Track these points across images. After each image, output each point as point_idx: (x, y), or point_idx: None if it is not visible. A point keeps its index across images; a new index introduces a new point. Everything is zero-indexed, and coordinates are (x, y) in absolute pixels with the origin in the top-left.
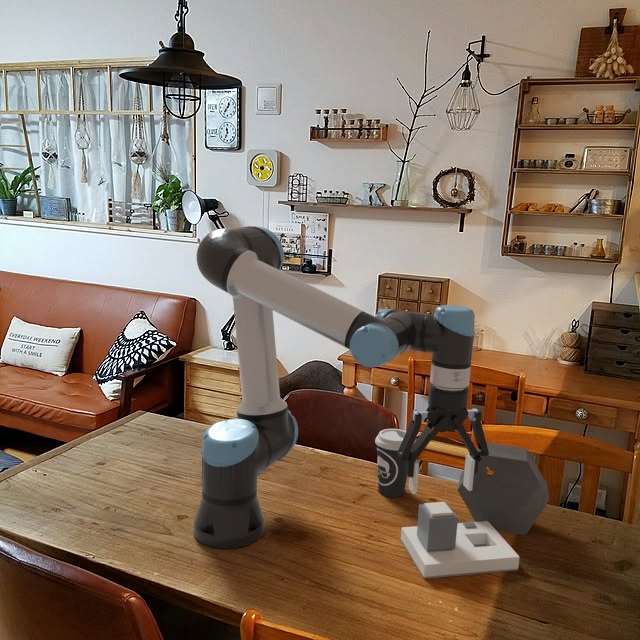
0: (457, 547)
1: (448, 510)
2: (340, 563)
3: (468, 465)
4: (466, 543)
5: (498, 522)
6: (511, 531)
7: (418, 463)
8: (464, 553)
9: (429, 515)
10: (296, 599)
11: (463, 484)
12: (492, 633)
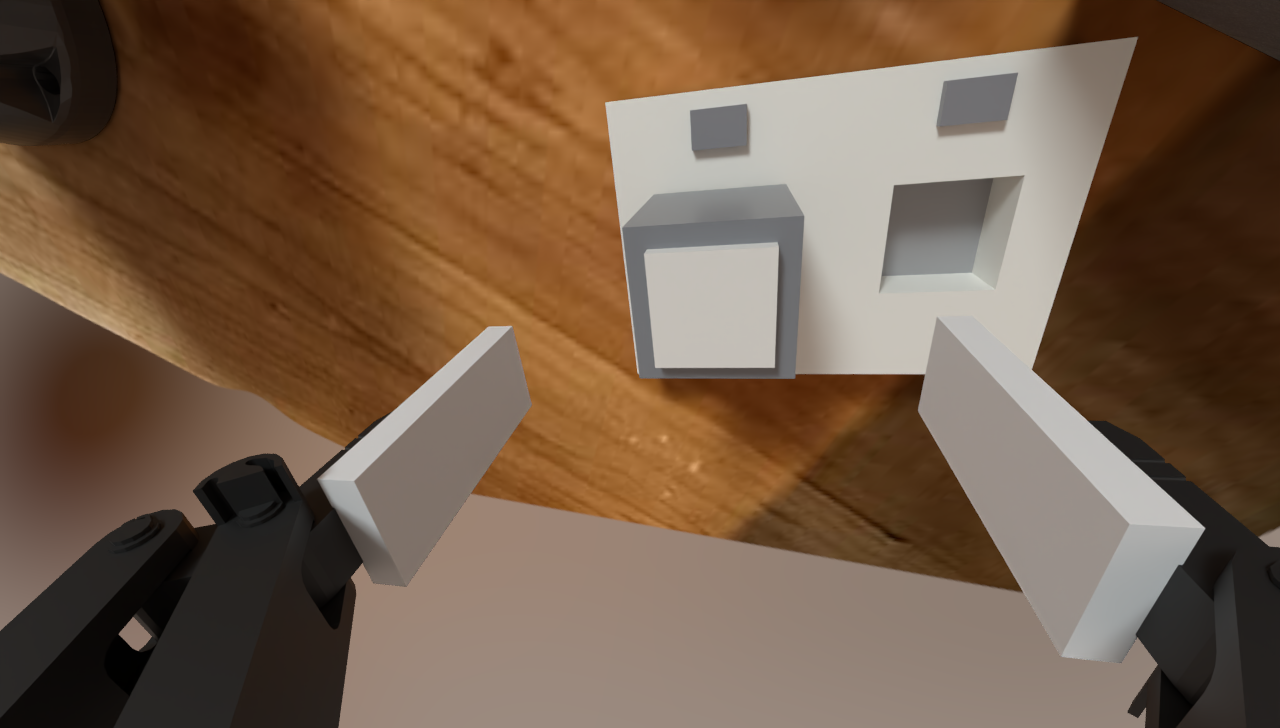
0: (801, 288)
1: (758, 345)
2: (405, 248)
3: (1026, 524)
4: (857, 261)
5: (1226, 4)
6: (1256, 43)
7: (401, 583)
8: (809, 328)
9: (648, 349)
10: (328, 382)
11: (938, 324)
12: (745, 540)
